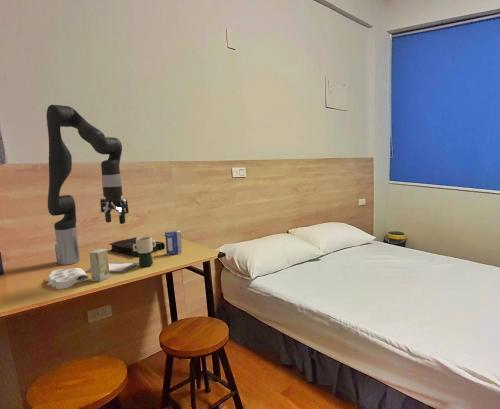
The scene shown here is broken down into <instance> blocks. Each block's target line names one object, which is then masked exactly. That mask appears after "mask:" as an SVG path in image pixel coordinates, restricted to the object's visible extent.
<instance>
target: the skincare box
mask: <svg viewBox="0 0 500 409" xmlns="http://www.w3.org/2000/svg"><path fill="white" fill-rule="evenodd" d="M108 254H109V253H108V249H107V248H98V249H95V250H93V251H90V252H89V265H90V269H91V272H90V273H91V274H90V276H91V282H99V283H100V282H103V281H105V280H106V279H108V278H110V276H111V273H109V263H108V262H109V255H108Z"/></svg>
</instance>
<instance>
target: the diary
mask: <svg viewBox="0 0 500 409" xmlns="http://www.w3.org/2000/svg"><path fill="white" fill-rule="evenodd" d="M137 238H138V237H136V236H135V237H132V238H127V239H121V240H117V241H114V242H110V243H108V246H111V249H109V251H110V252H111V253H112V252H113V253H116V254H120V255H125V256H130V257H134V258H137V259H139V255H140V253H138V252H137V251H133V244H136V239H137ZM155 241H156V240H155ZM152 245H154V242H152ZM135 249H137V247H136V246H135ZM161 250H166V243H164V242H163V241H156V246H155V247H153V250H152V251H151V252H150V253H151V254H152V253H155V252H157V251H161Z"/></svg>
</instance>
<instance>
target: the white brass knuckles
mask: <svg viewBox="0 0 500 409" xmlns="http://www.w3.org/2000/svg"><path fill="white" fill-rule="evenodd" d="M86 273H87V272H86V271H84V270H83V268H79V267H76V268H68V269H67V268H59V269H55V270H52V271H50V274H49V275H48V277H47V278H45V280H44V281H45V282H48V283H46V285H47V286H50V287H52V288H55V289H56V290H63V289H67V288H70V287H73V285H75V284H76V283H81V282H85V281H87V280H88V279H89V275H88V274H86ZM79 277H80V278H79Z"/></svg>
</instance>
